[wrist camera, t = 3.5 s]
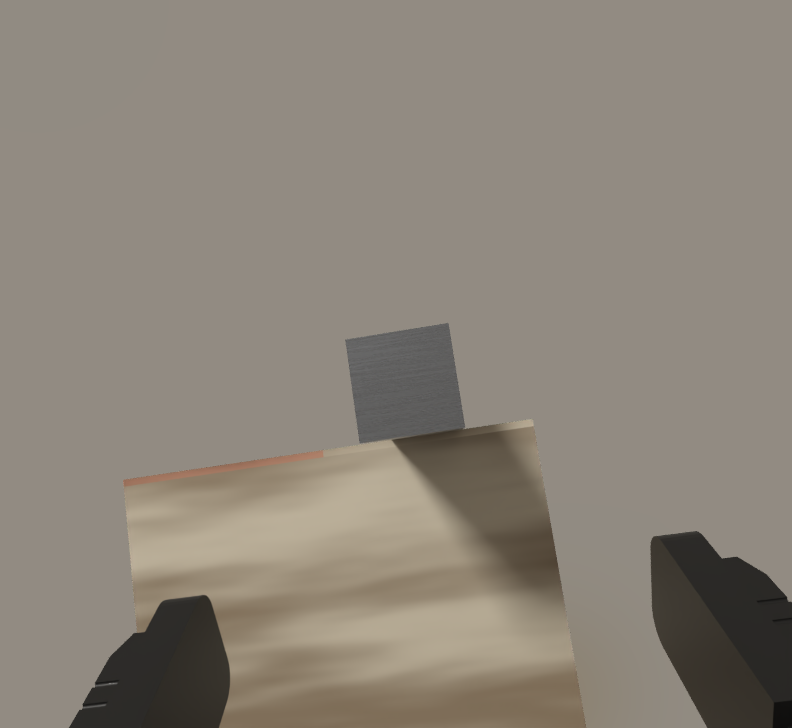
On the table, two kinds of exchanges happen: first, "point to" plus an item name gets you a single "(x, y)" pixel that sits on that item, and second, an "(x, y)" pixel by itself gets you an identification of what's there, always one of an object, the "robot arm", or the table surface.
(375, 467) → the zigzag patterned pillar
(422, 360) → the metal block
